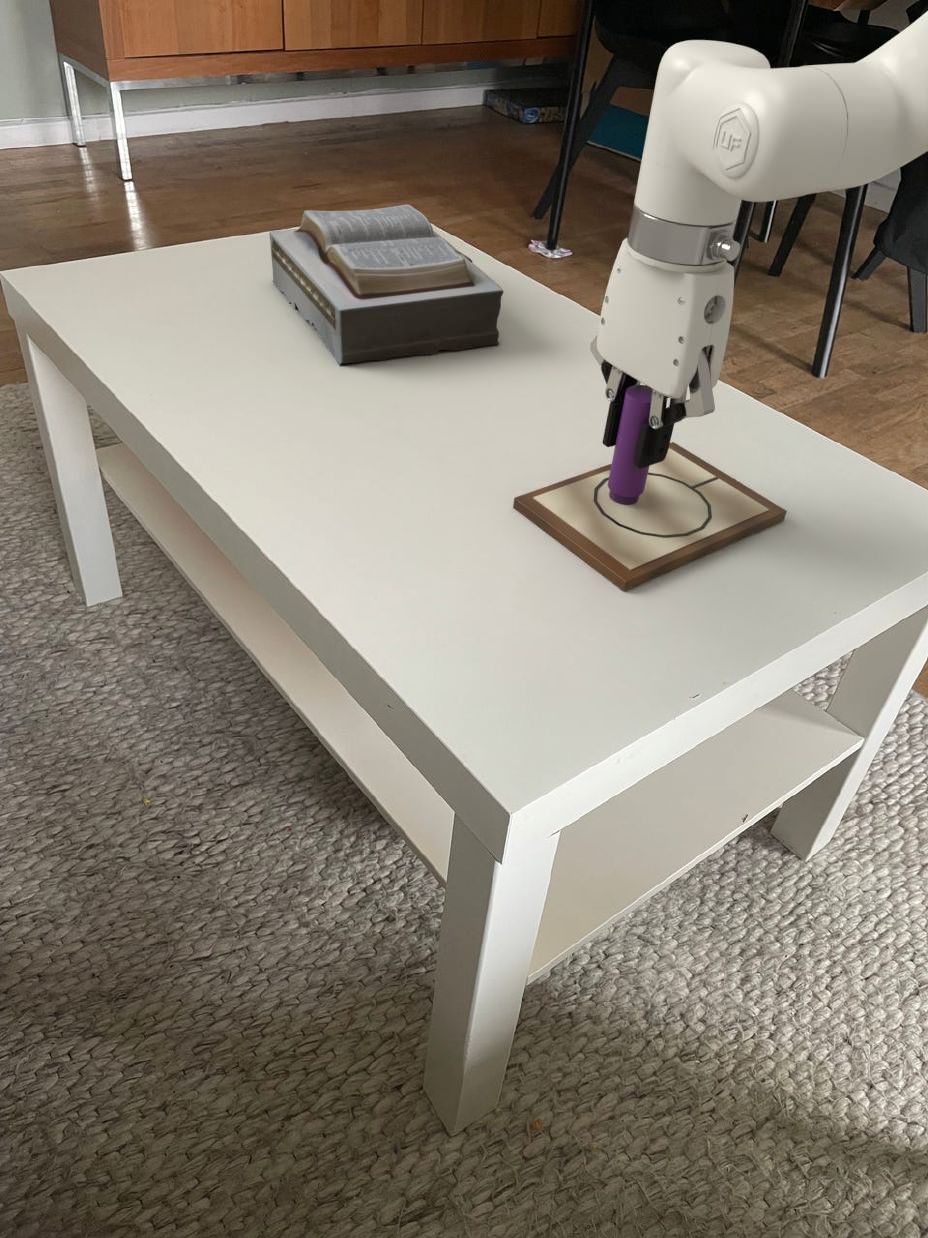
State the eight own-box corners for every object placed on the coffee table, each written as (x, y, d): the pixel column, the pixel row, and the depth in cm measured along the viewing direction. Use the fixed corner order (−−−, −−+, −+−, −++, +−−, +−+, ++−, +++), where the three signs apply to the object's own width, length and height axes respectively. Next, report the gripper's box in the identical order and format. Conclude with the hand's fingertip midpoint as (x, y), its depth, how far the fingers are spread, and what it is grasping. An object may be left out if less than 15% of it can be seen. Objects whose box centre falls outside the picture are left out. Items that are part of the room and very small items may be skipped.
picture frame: (671, 450, 98) (673, 440, 97) (783, 520, 90) (787, 509, 89) (512, 507, 88) (514, 495, 87) (623, 591, 80) (626, 580, 79)
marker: (643, 491, 90) (666, 388, 83) (639, 509, 87) (663, 405, 81) (608, 484, 90) (628, 381, 84) (603, 502, 88) (624, 398, 81)
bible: (448, 268, 131) (454, 189, 125) (509, 358, 111) (519, 270, 105) (267, 271, 125) (264, 189, 119) (297, 368, 105) (294, 275, 99)
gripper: (799, 265, 71) (734, 487, 83) (639, 195, 81) (601, 402, 92) (728, 282, 67) (670, 511, 79) (569, 206, 77) (538, 420, 89)
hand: (633, 450), depth 86 cm, fingers closed on marker, 3 cm apart
